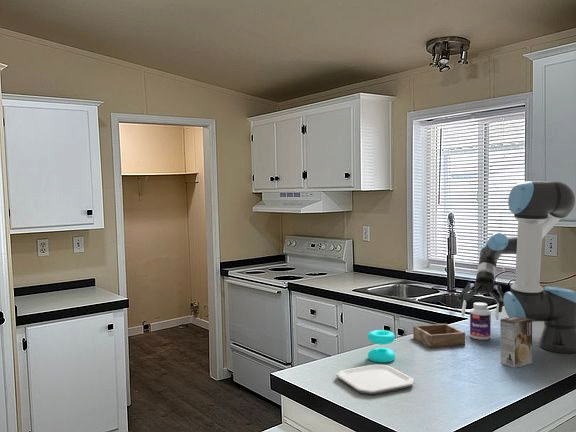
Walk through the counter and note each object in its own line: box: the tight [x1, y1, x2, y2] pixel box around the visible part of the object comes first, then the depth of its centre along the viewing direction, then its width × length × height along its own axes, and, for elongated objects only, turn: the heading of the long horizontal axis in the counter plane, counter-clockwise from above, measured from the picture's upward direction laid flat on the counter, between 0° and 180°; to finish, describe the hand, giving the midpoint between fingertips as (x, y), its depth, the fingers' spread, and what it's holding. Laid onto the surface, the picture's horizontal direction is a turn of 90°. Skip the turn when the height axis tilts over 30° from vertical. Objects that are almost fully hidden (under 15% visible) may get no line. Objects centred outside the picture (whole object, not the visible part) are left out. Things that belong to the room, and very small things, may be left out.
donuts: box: [367, 329, 396, 364], centre depth 193 cm, size 10×10×10 cm
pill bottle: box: [469, 301, 492, 341], centre depth 218 cm, size 8×8×14 cm
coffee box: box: [500, 316, 533, 369], centre depth 185 cm, size 9×6×16 cm
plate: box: [335, 363, 415, 395], centre depth 170 cm, size 21×21×2 cm
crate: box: [412, 323, 466, 349], centre depth 214 cm, size 15×15×5 cm
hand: (479, 316), depth 219 cm, fingers open, 13 cm apart
